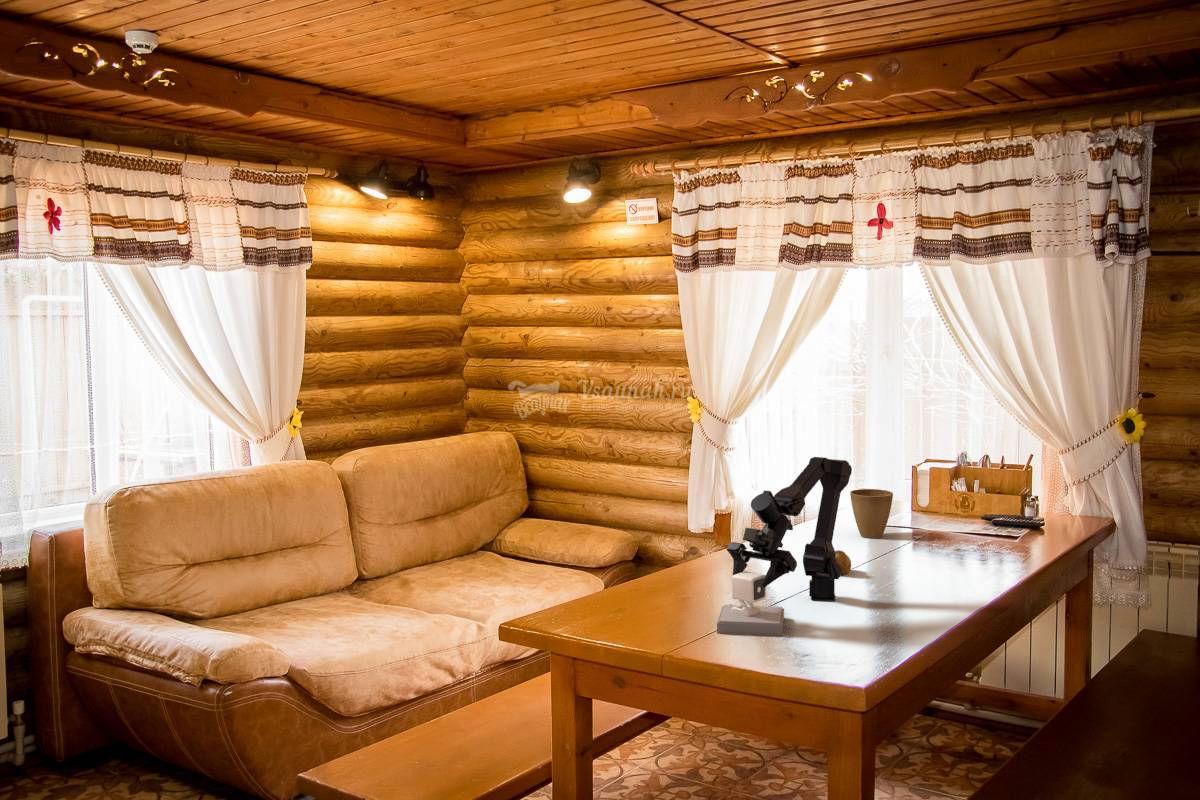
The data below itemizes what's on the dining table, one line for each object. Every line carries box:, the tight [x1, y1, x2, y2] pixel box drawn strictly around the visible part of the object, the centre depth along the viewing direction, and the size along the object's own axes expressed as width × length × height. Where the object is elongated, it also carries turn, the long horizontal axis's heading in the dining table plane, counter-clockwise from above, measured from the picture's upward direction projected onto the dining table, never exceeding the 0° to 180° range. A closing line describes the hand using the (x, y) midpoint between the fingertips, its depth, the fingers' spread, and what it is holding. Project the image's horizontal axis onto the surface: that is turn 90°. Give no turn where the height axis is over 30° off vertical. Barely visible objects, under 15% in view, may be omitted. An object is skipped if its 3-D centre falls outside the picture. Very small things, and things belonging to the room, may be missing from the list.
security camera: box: [731, 570, 767, 616], centre depth 269 cm, size 6×7×10 cm
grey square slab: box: [716, 604, 785, 637], centre depth 269 cm, size 16×16×3 cm
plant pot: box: [849, 488, 894, 539], centre depth 374 cm, size 15×15×16 cm
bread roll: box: [835, 550, 852, 576], centre depth 324 cm, size 13×10×8 cm
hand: (748, 583), depth 267 cm, fingers open, 9 cm apart
